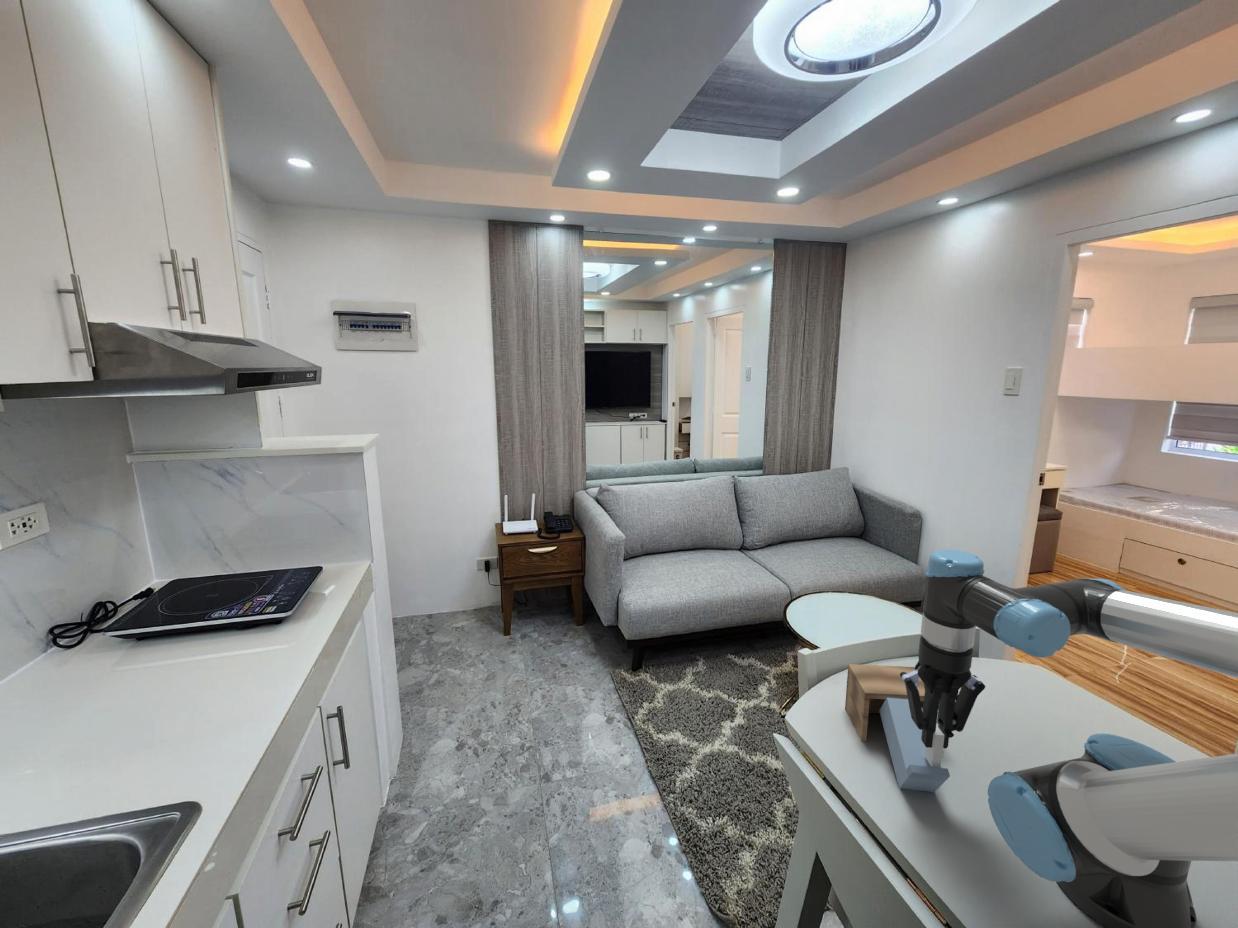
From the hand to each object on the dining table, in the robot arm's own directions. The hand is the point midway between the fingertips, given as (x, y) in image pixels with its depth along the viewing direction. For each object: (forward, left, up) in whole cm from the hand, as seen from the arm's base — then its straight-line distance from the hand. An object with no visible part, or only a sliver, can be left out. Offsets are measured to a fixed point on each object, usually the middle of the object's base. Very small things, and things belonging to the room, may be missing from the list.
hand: (932, 761), depth 88 cm
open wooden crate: (+18, 0, -7) cm, 19 cm away
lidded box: (+7, +1, -4) cm, 8 cm away
